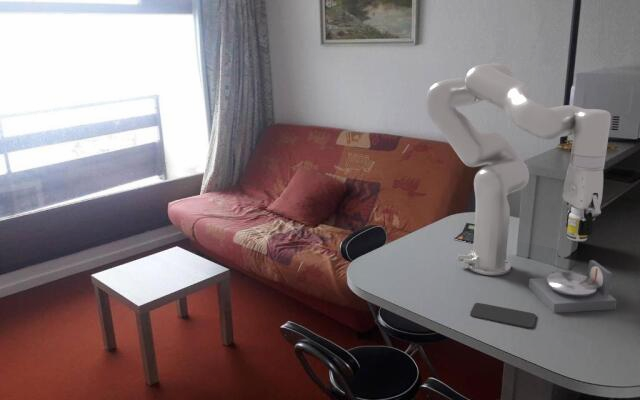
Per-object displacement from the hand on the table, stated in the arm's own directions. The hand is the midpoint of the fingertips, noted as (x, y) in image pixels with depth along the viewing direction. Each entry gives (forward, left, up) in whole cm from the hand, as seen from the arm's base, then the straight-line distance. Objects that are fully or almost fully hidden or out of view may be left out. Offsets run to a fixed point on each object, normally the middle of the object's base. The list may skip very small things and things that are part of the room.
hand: (578, 230), depth 134 cm
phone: (-21, -7, -20) cm, 30 cm away
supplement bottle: (0, 0, -2) cm, 2 cm away
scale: (0, 0, -19) cm, 19 cm away
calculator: (-10, +45, -19) cm, 50 cm away
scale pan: (0, 0, -15) cm, 15 cm away
